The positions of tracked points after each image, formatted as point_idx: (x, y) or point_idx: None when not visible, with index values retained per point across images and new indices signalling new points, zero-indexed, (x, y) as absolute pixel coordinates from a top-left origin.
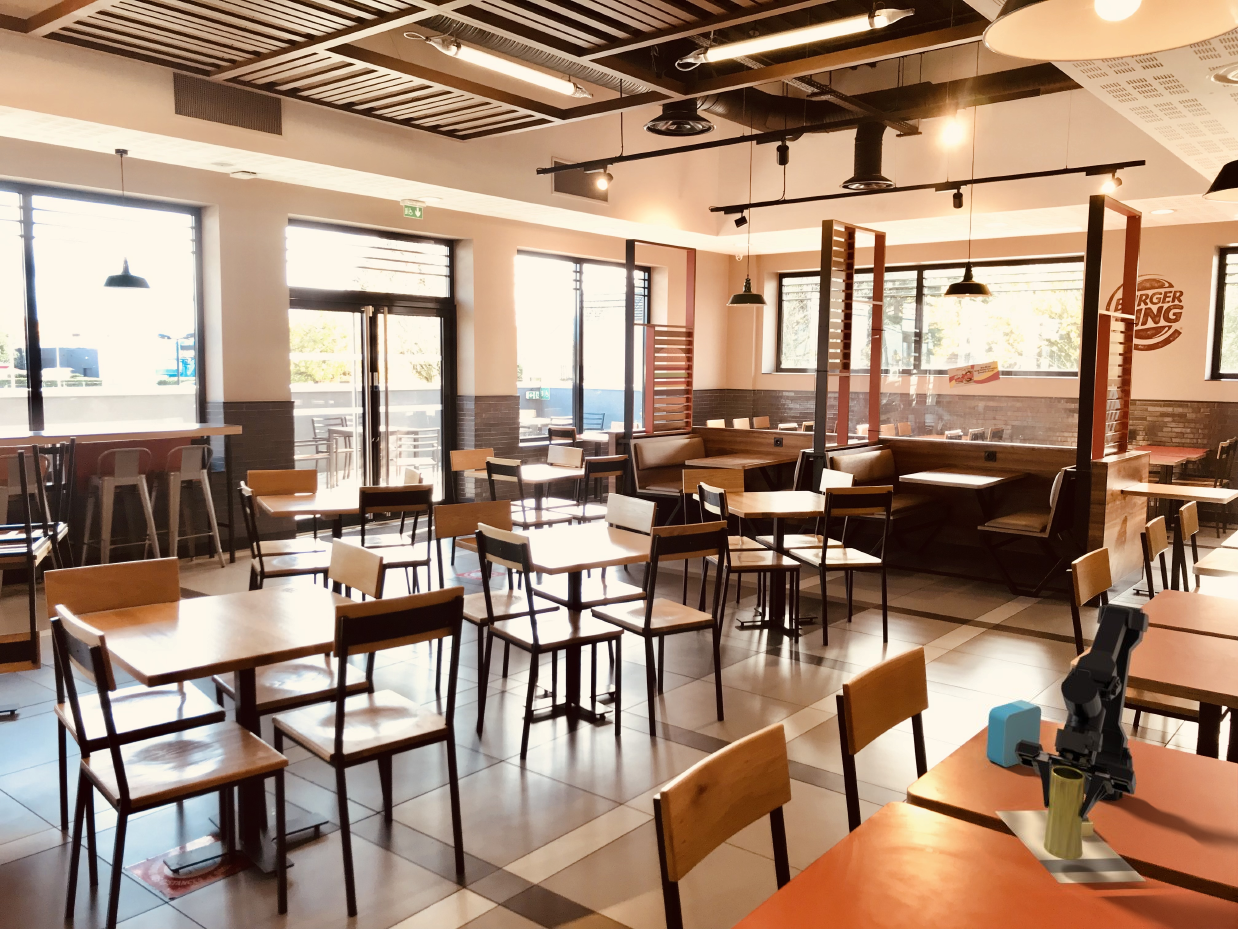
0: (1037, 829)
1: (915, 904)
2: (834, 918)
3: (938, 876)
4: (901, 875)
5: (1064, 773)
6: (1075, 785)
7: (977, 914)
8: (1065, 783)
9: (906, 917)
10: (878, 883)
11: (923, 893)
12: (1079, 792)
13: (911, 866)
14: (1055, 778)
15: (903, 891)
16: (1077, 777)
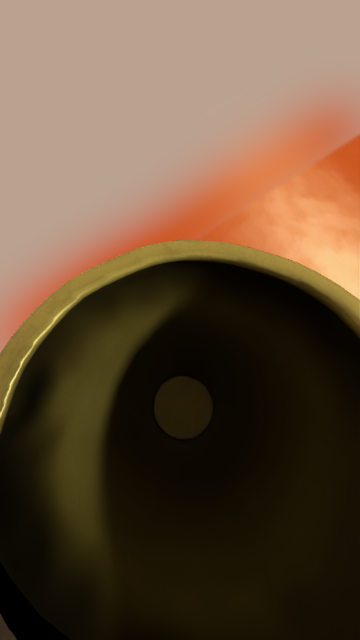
0: None
1: (298, 201)
2: (338, 148)
3: (316, 264)
4: (349, 240)
5: (287, 613)
6: (106, 307)
7: (237, 221)
8: (186, 275)
9: (291, 180)
10: (354, 212)
11: (305, 222)
12: (99, 365)
13: (356, 265)
14: (285, 287)
15: (324, 214)
16: (113, 596)
